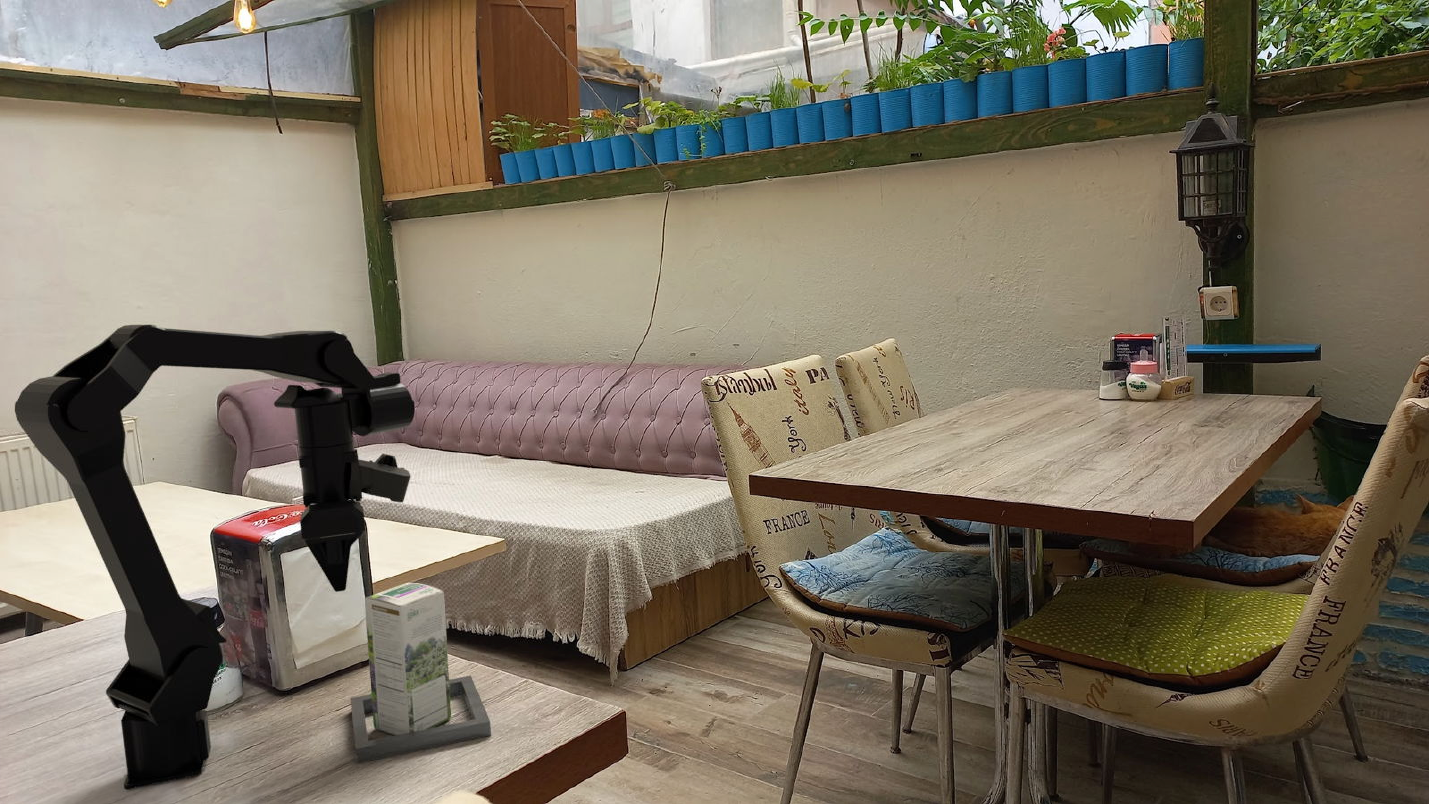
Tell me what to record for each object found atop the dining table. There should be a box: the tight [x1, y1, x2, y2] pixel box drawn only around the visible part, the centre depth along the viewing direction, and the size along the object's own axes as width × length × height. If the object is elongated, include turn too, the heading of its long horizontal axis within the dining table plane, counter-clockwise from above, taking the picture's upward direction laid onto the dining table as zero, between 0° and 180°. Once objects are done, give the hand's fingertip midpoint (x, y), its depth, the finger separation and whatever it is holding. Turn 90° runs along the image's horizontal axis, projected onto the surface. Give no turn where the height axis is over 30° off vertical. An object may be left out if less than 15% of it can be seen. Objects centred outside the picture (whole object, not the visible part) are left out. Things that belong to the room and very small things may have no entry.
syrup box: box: [364, 582, 452, 736], centre depth 101 cm, size 6×6×14 cm
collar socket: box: [350, 675, 492, 764], centre depth 102 cm, size 13×13×2 cm
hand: (340, 579), depth 110 cm, fingers open, 9 cm apart
